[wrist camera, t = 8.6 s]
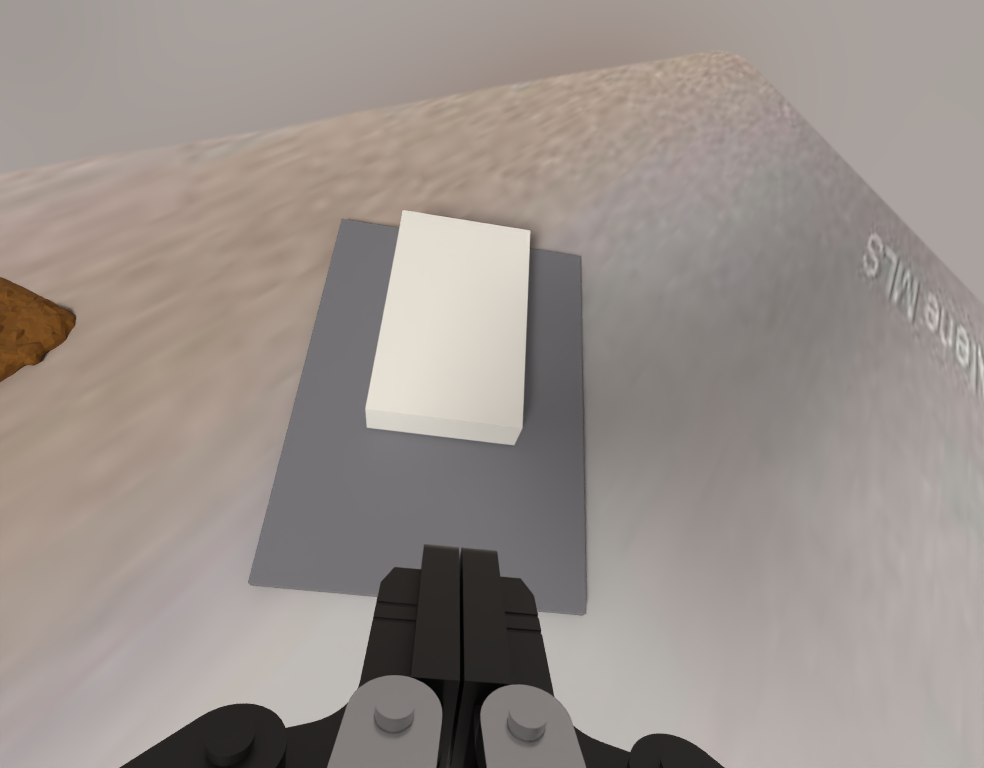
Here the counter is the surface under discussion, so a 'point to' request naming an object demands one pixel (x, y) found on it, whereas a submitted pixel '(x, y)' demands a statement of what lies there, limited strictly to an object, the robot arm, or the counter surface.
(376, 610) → the robot arm
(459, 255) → the cream white block
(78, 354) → the counter surface
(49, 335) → the primitive tool
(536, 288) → the rubber mat
